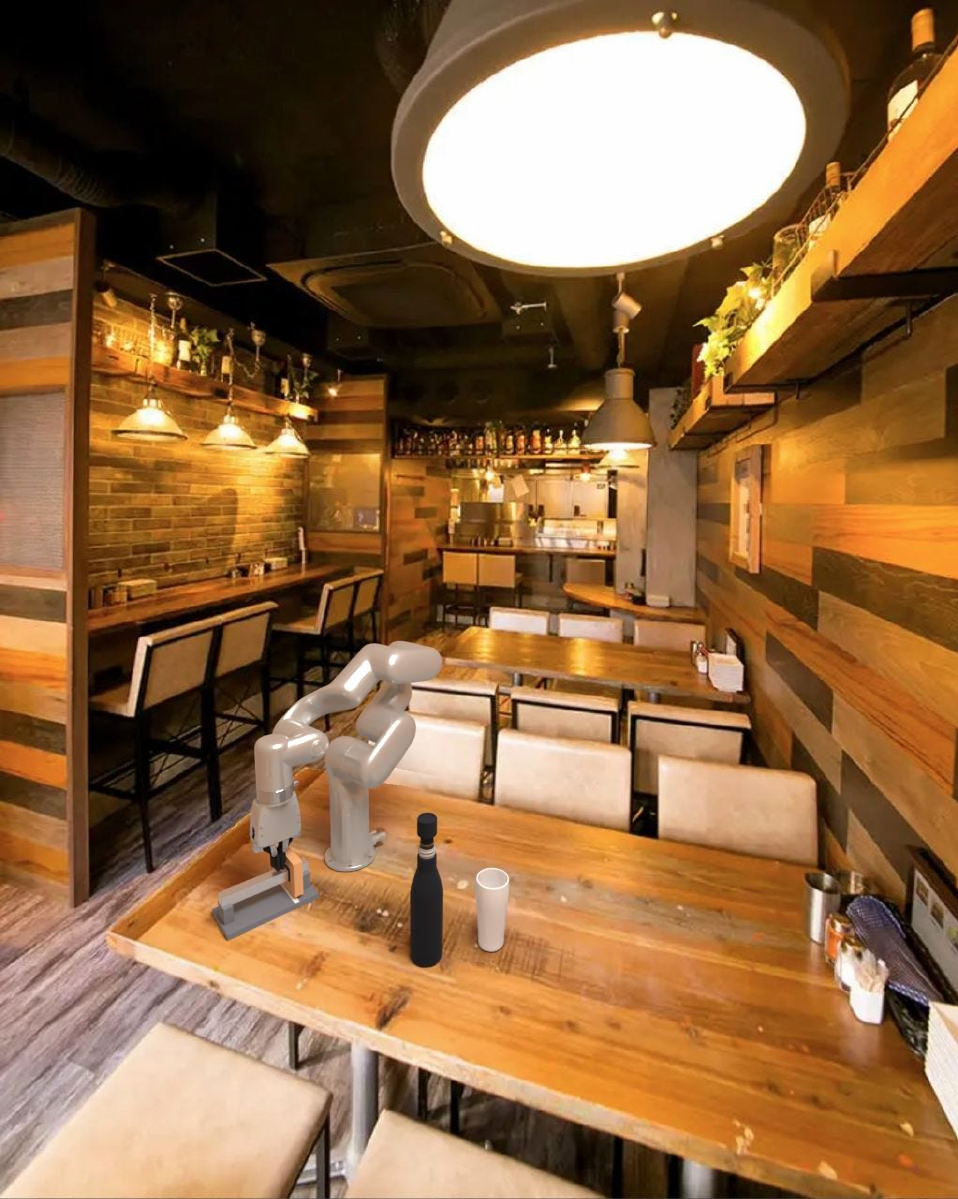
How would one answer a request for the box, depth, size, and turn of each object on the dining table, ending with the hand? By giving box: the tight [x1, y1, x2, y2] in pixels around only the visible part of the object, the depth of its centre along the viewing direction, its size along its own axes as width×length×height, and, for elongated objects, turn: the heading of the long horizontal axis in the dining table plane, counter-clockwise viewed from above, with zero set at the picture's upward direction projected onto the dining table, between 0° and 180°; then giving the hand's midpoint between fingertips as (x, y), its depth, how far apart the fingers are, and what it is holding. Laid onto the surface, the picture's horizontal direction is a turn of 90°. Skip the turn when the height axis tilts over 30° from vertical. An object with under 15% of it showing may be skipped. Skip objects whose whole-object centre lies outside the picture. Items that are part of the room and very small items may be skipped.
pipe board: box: [211, 871, 320, 941], centre depth 127 cm, size 20×10×5 cm, turn 131°
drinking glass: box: [475, 867, 510, 953], centre depth 117 cm, size 7×7×15 cm
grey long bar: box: [217, 856, 310, 909], centre depth 127 cm, size 19×3×3 cm, turn 131°
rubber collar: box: [283, 845, 304, 897], centre depth 130 cm, size 2×8×8 cm, turn 41°
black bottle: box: [409, 812, 444, 969], centre depth 112 cm, size 6×6×30 cm
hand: (278, 867), depth 128 cm, fingers closed
